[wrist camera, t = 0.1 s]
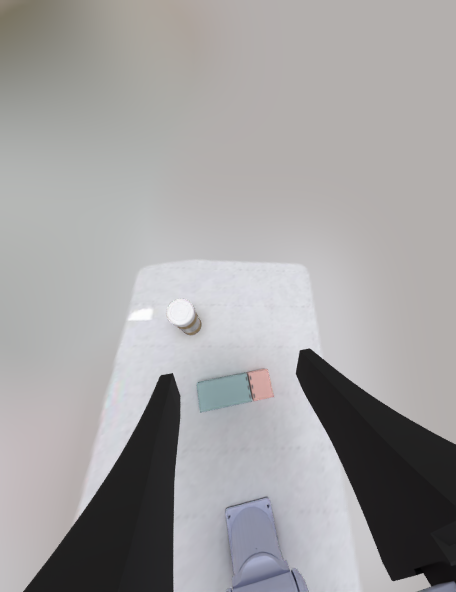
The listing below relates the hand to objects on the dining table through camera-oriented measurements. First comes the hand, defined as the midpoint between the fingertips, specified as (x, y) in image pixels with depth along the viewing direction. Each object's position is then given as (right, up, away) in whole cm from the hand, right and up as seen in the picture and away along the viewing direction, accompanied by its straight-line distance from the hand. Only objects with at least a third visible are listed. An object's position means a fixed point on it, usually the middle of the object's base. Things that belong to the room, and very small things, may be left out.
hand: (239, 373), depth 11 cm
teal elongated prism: (-1, -15, +29) cm, 32 cm away
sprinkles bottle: (-9, -2, +33) cm, 34 cm away
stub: (+6, -14, +29) cm, 33 cm away
